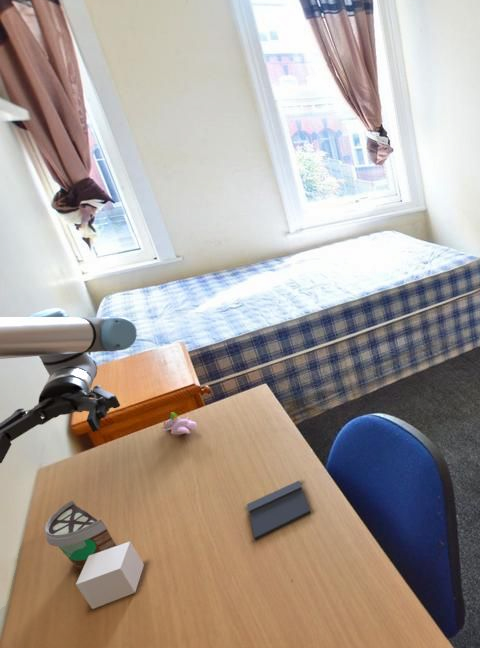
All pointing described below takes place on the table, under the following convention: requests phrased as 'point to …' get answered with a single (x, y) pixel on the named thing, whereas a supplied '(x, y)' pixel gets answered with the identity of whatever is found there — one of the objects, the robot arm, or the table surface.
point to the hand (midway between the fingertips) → (45, 441)
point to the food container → (77, 534)
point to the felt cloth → (277, 509)
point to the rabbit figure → (179, 425)
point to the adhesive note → (110, 575)
